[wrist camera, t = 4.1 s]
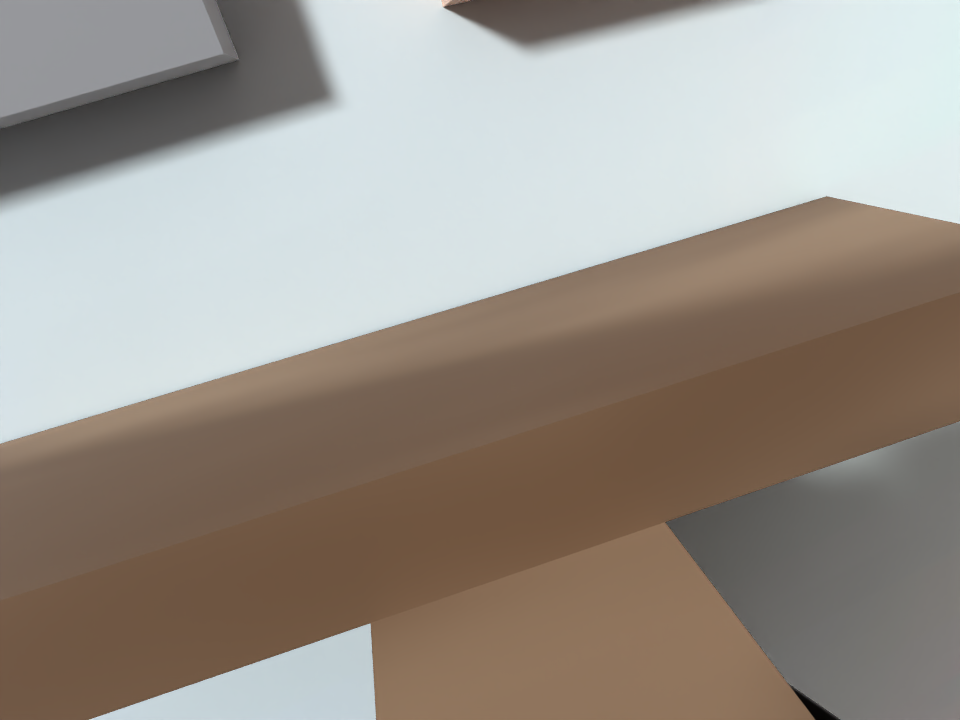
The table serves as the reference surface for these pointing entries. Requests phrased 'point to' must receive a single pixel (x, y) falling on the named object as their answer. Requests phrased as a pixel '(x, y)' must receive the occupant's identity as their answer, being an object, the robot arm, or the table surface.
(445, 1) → the tile terracotta
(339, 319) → the table surface
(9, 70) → the tile slate
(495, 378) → the scraper
